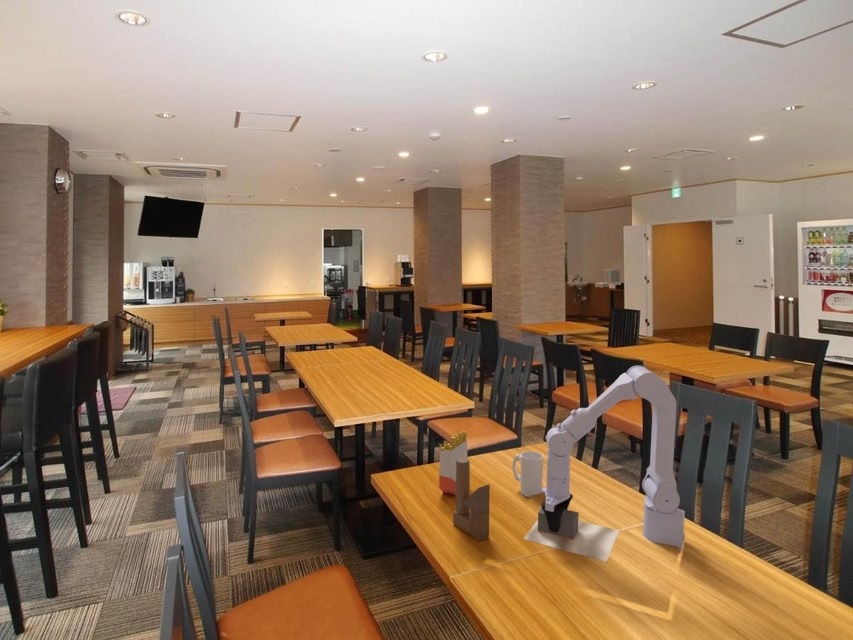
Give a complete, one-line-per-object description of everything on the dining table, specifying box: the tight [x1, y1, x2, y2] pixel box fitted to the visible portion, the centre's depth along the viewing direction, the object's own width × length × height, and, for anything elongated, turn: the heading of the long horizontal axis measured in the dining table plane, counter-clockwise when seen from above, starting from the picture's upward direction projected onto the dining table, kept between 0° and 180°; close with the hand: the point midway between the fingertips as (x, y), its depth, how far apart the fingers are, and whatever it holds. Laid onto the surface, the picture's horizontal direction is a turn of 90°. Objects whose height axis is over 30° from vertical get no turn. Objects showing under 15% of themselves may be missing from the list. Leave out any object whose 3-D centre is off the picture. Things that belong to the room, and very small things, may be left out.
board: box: [523, 519, 620, 563], centre depth 132 cm, size 20×16×1 cm
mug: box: [512, 450, 544, 498], centre depth 158 cm, size 10×7×12 cm, turn 47°
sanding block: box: [537, 507, 580, 540], centre depth 133 cm, size 9×5×5 cm, turn 60°
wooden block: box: [452, 458, 491, 542], centre depth 135 cm, size 4×11×18 cm, turn 35°
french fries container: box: [438, 430, 468, 496], centre depth 159 cm, size 5×11×18 cm, turn 150°
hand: (556, 526), depth 134 cm, fingers closed on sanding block, 5 cm apart
